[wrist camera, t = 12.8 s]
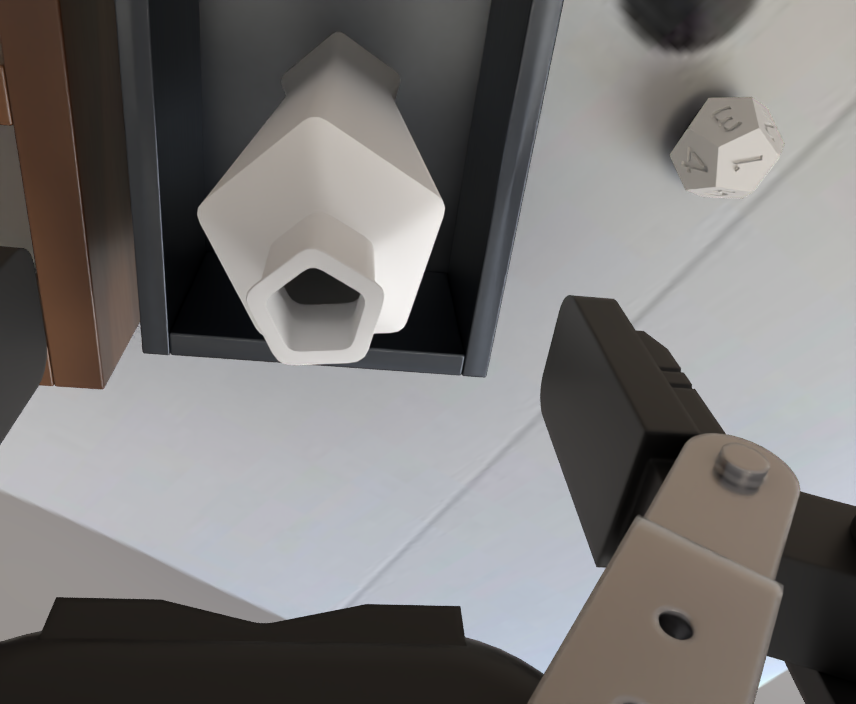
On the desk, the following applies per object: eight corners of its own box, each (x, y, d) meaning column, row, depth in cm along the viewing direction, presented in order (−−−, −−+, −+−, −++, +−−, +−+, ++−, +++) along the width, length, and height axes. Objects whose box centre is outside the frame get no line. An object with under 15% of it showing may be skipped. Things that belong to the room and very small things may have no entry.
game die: (755, 176, 28) (794, 204, 25) (657, 191, 28) (686, 221, 25) (764, 78, 26) (808, 99, 23) (659, 96, 26) (691, 117, 23)
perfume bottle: (285, 1, 23) (184, 130, 10) (420, 46, 24) (484, 215, 11) (257, 143, 25) (144, 396, 12) (381, 178, 26) (396, 448, 13)
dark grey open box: (187, 261, 28) (142, 353, 22) (169, -177, 21) (97, -205, 15) (463, 286, 29) (486, 378, 24) (533, -118, 22) (590, -124, 17)
